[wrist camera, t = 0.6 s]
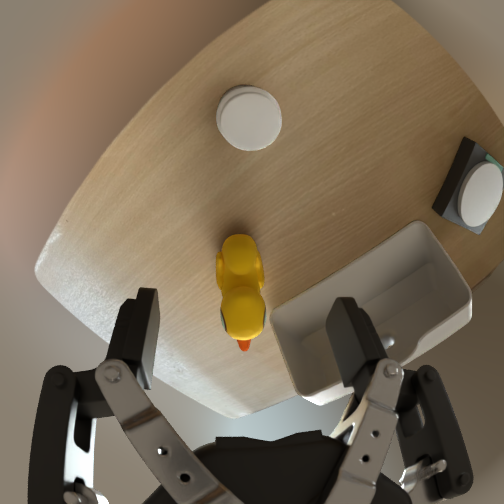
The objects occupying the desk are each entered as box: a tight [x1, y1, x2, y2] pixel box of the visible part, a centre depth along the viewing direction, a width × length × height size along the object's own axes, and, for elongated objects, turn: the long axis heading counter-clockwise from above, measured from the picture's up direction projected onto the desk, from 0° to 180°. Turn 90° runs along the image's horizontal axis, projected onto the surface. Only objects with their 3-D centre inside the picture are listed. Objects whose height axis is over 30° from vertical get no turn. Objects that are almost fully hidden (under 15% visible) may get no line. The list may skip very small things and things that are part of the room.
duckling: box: [216, 234, 266, 351], centre depth 30 cm, size 11×5×10 cm, turn 0°
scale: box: [432, 137, 504, 235], centre depth 29 cm, size 11×11×3 cm
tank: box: [270, 221, 472, 405], centre depth 35 cm, size 25×16×12 cm, turn 127°
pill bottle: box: [216, 85, 282, 151], centre depth 20 cm, size 5×5×8 cm
